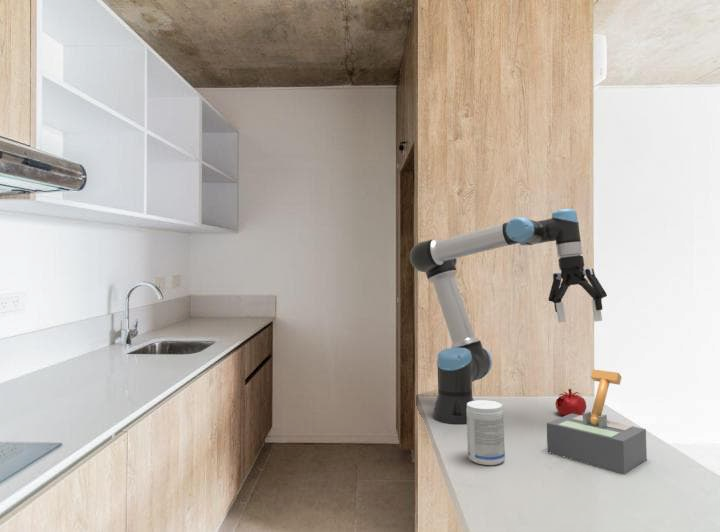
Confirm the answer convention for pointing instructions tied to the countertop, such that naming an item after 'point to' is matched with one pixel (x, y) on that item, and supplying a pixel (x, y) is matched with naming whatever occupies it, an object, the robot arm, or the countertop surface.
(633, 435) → the box
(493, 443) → the supplement tub
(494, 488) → the countertop surface
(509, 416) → the countertop surface
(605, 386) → the lever
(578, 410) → the pomegranate
